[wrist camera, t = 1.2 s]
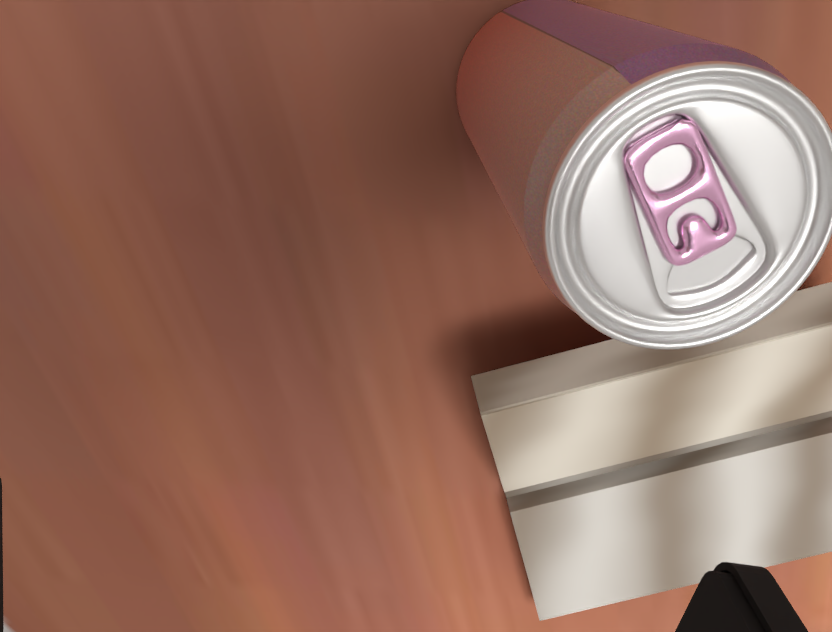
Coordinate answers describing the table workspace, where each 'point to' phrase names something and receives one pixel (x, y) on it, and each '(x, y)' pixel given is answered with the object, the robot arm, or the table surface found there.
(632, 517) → the floorboard
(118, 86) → the table surface
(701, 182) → the beverage can
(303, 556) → the table surface
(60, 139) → the table surface
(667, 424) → the plank
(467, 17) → the table surface
